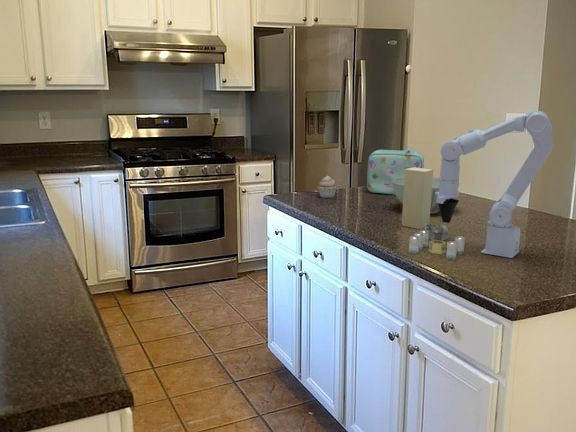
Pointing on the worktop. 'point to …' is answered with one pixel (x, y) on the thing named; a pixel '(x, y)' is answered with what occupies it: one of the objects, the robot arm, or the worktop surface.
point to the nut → (437, 246)
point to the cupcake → (327, 187)
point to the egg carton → (436, 232)
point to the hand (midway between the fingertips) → (446, 222)
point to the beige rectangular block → (417, 197)
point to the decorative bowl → (399, 191)
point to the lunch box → (390, 168)
